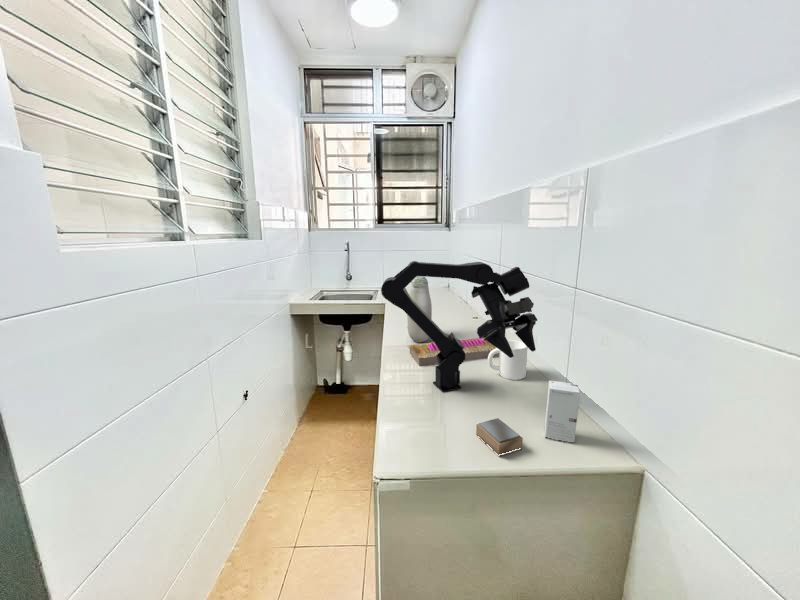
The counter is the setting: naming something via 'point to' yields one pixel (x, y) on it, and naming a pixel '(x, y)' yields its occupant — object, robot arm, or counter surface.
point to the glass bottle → (422, 299)
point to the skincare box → (561, 411)
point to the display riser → (499, 436)
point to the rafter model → (429, 347)
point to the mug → (511, 361)
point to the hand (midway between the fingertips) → (523, 354)
